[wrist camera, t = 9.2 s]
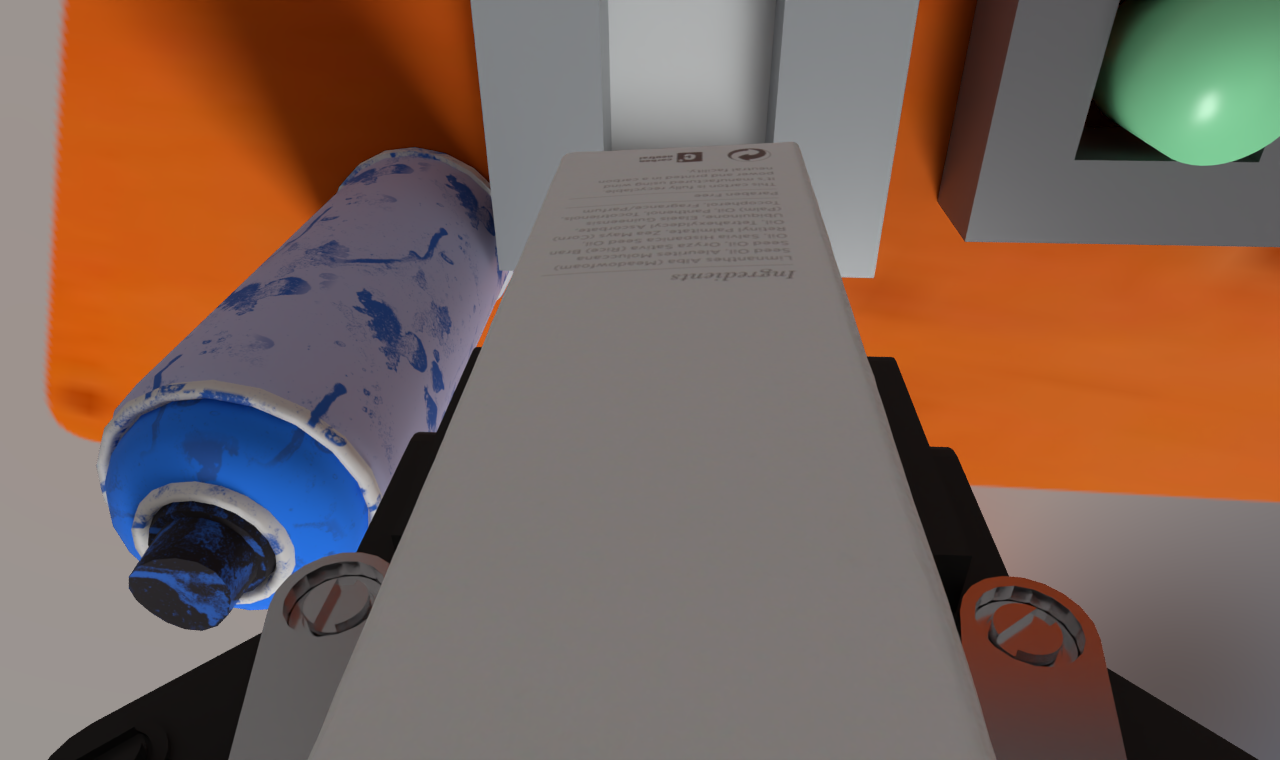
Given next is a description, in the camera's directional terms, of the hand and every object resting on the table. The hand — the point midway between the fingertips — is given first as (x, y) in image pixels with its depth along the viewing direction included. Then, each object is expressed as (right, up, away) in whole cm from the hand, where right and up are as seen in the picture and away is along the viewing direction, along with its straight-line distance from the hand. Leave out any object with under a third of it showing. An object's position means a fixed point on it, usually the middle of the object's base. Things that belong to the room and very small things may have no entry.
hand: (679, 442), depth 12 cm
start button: (+17, +12, +15) cm, 26 cm away
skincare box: (0, +3, +4) cm, 5 cm away
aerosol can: (-10, +7, +23) cm, 26 cm away
